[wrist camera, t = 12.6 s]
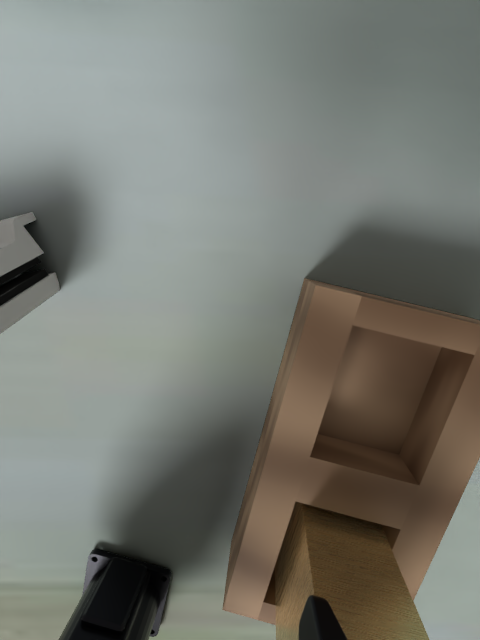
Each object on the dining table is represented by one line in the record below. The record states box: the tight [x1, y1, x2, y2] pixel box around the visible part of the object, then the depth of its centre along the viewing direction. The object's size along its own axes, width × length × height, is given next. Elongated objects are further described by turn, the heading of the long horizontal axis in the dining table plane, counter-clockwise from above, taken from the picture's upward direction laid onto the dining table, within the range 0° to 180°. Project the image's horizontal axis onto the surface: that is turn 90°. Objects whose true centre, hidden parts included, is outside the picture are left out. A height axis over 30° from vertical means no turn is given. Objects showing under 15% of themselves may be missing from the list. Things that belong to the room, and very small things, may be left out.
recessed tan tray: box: [223, 278, 480, 625], centre depth 18 cm, size 20×10×4 cm, turn 167°
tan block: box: [275, 502, 429, 640], centre depth 15 cm, size 6×4×9 cm
